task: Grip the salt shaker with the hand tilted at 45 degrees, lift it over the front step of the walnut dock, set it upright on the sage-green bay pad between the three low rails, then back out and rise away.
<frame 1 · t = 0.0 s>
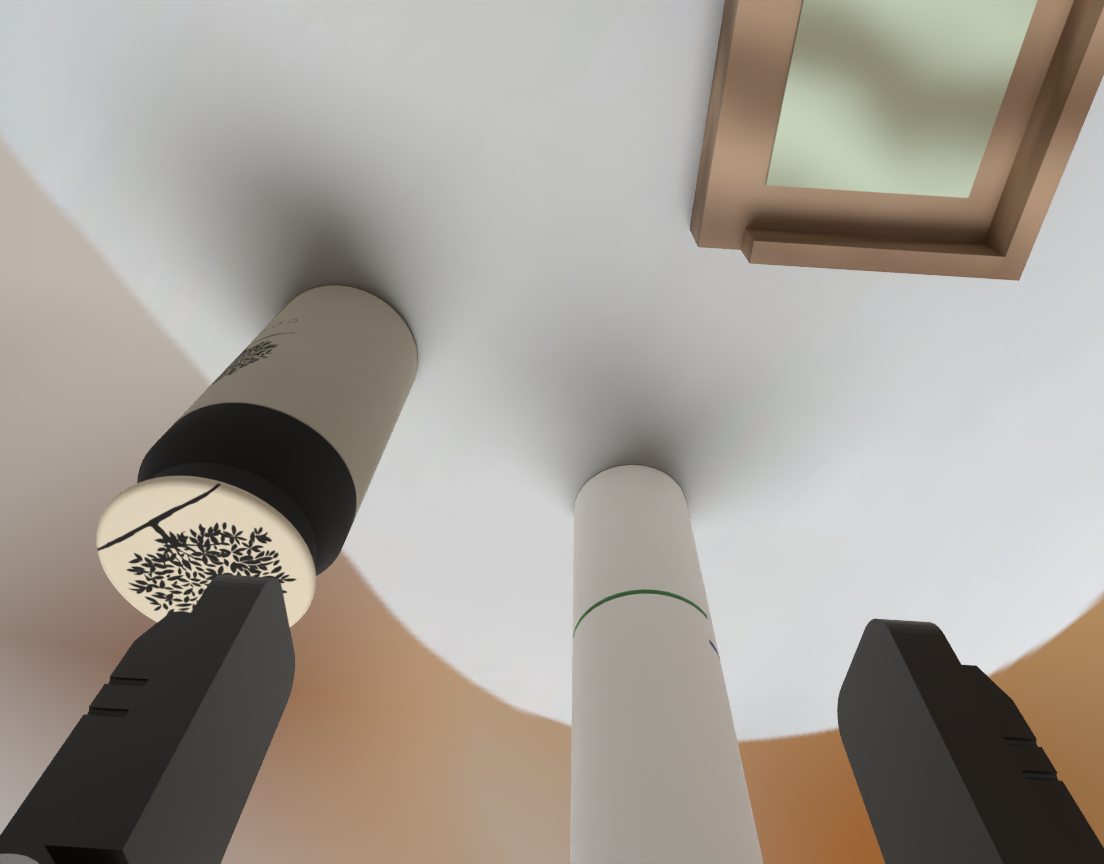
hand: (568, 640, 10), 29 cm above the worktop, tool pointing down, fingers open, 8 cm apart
travel mug: (349, 349, 40), on the worktop
cylindrical container: (629, 509, 45), on the worktop
dock: (871, 72, 32), on the worktop
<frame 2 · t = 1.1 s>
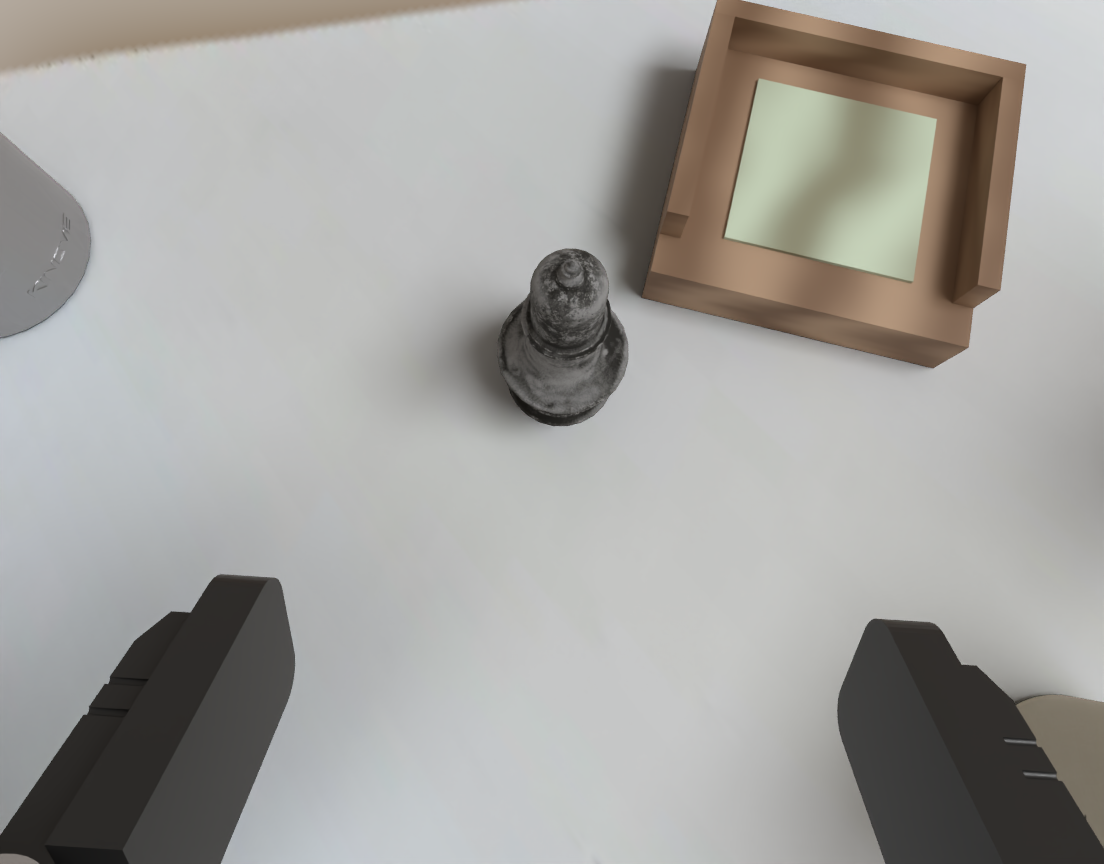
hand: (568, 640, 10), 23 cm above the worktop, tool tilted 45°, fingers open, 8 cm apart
travel mug: (1059, 788, 32), on the worktop
salt shaker: (560, 375, 35), on the worktop
dock: (808, 211, 38), on the worktop
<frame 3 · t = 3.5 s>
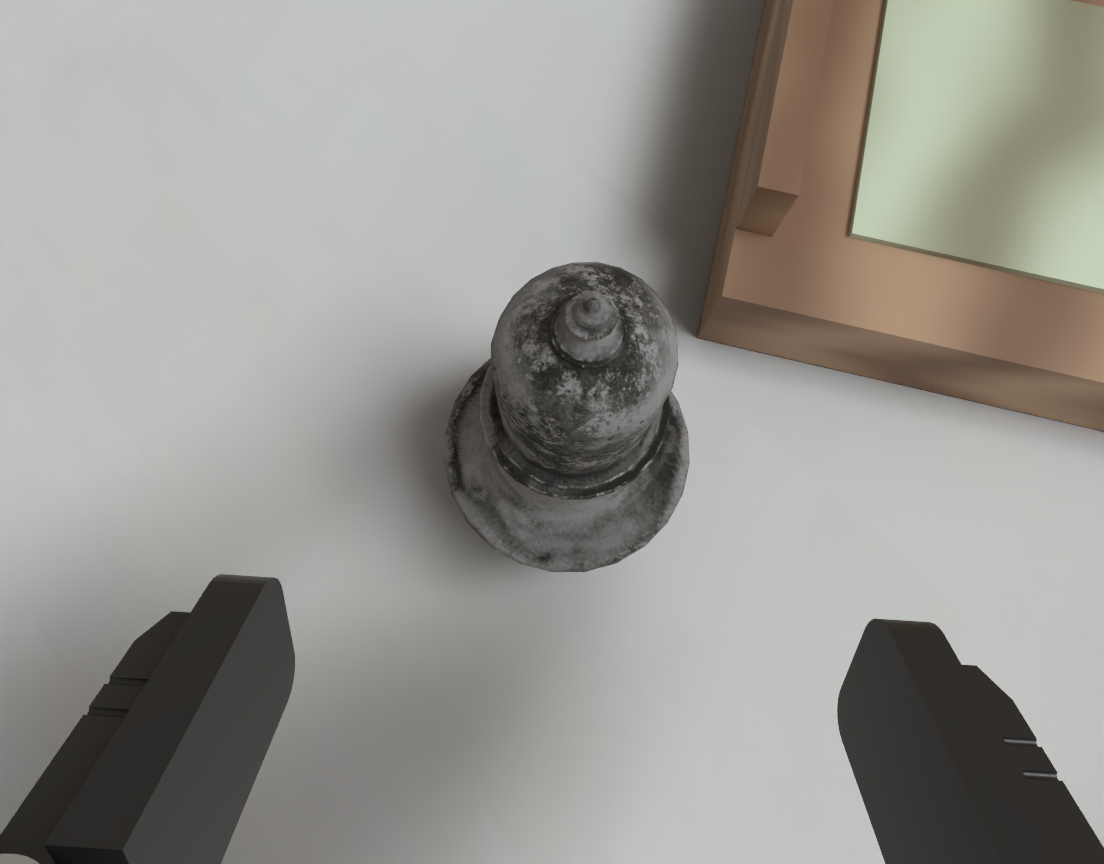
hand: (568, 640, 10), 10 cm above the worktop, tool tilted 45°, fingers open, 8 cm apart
salt shaker: (562, 474, 21), on the worktop
dock: (967, 190, 23), on the worktop
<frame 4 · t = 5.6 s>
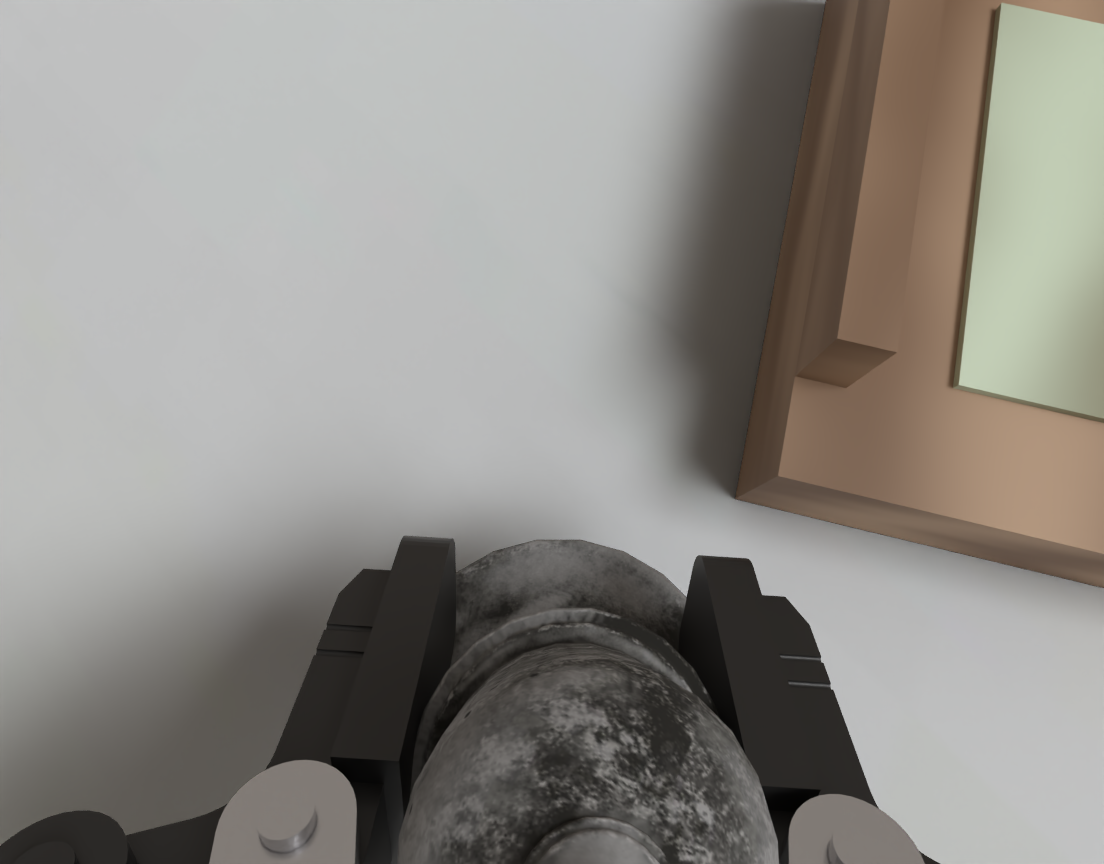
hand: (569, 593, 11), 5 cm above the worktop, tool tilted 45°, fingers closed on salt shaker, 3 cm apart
salt shaker: (553, 691, 15), on the worktop, touching gripper
dock: (1085, 295, 17), on the worktop
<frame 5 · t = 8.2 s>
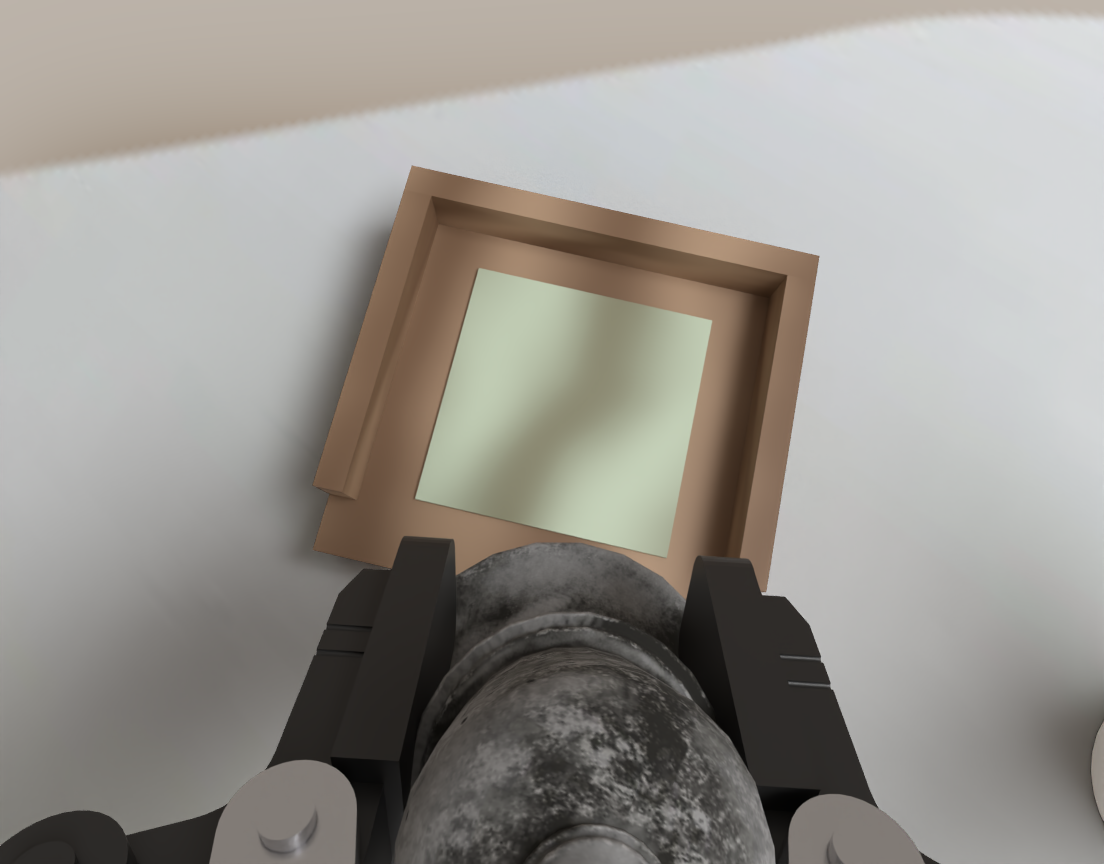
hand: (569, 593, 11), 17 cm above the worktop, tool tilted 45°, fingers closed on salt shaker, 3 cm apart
salt shaker: (553, 694, 15), point 12 cm above the worktop, touching gripper
dock: (565, 426, 29), on the worktop
when the fingers open (9 cm above the worktop, at t = 10.7 s): salt shaker drops 1 cm, resting on dock.
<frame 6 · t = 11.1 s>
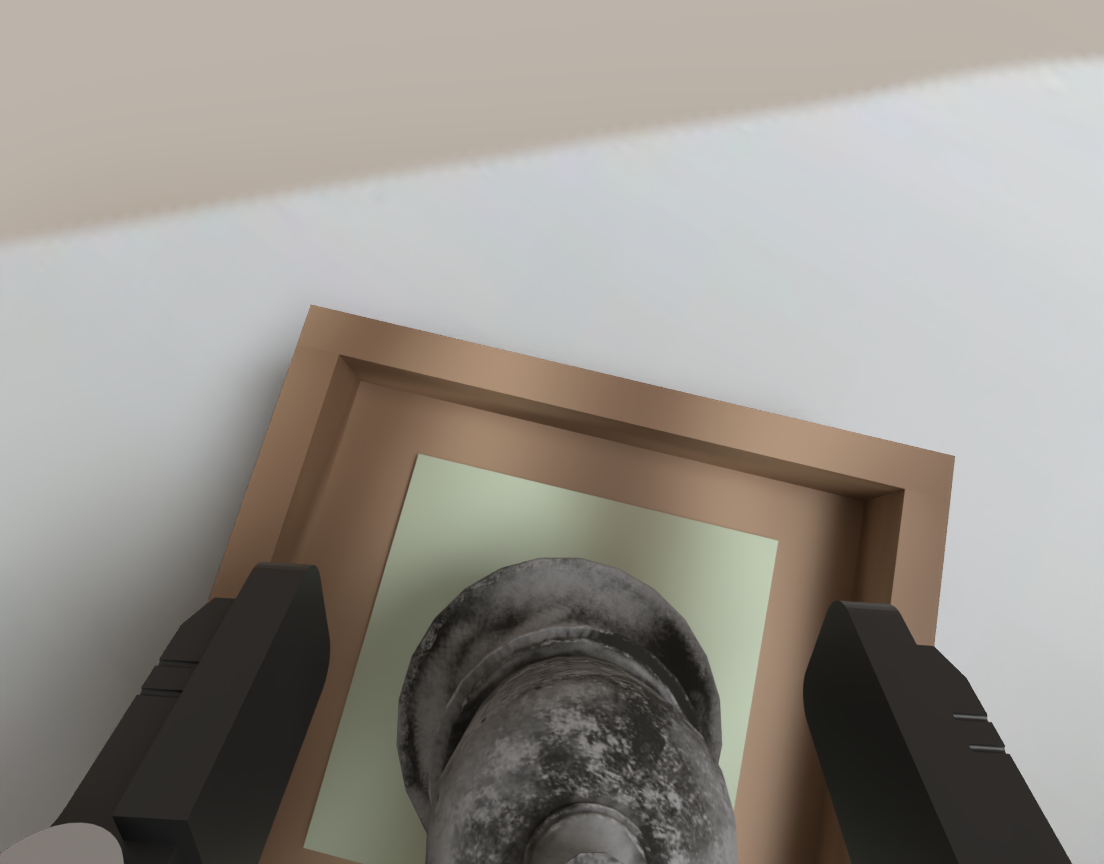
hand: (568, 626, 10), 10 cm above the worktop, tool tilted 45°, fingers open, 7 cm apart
salt shaker: (555, 695, 16), point 3 cm above the worktop, touching dock
dock: (551, 672, 19), on the worktop
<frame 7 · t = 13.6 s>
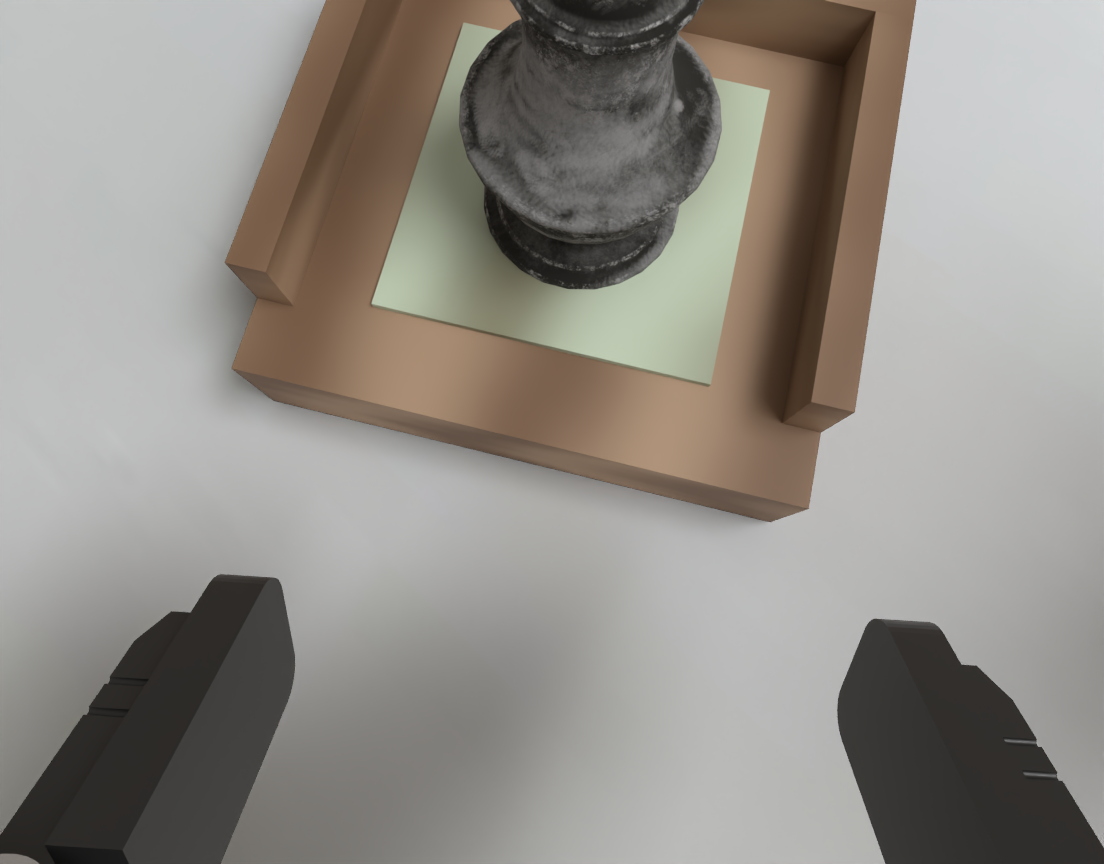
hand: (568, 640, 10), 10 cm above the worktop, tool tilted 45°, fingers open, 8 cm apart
salt shaker: (580, 203, 20), point 3 cm above the worktop, touching dock
dock: (573, 248, 22), on the worktop
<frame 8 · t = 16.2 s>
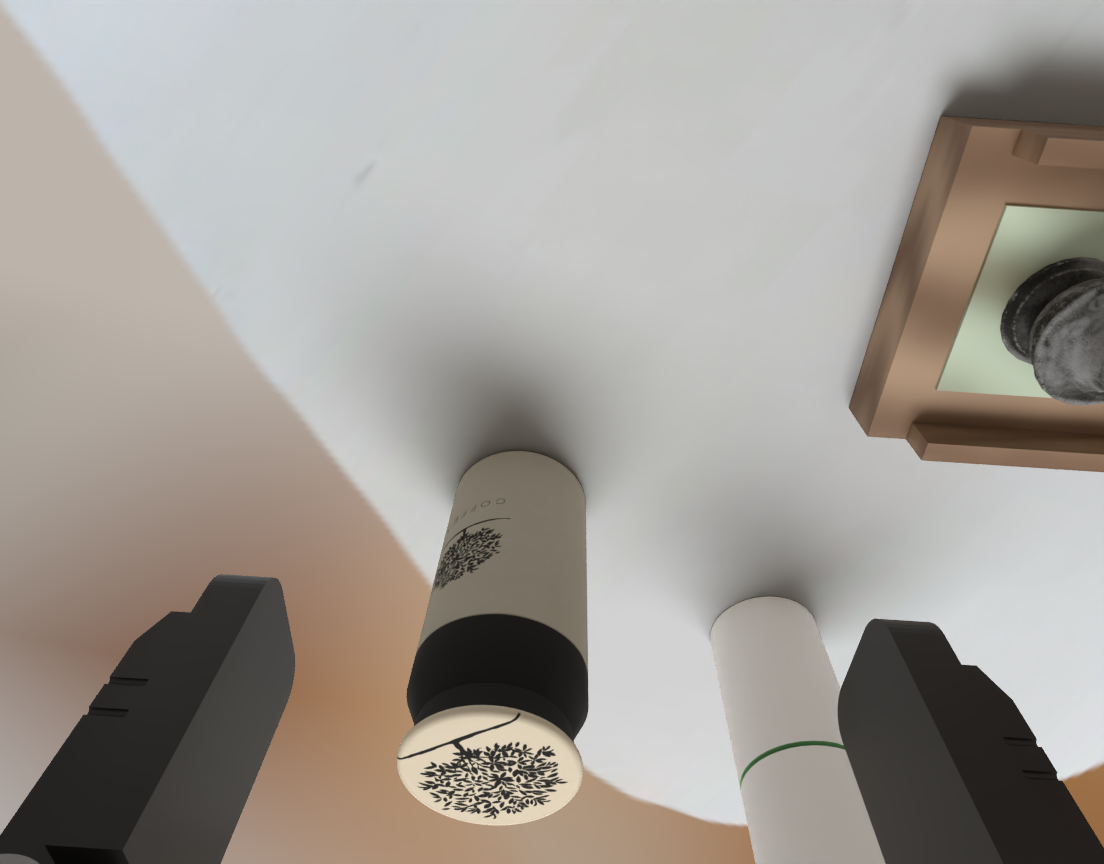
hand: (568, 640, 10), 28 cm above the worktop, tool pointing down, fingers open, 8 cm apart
travel mug: (521, 500, 44), on the worktop
salt shaker: (1058, 311, 33), point 3 cm above the worktop, touching dock
cylindrical container: (762, 632, 49), on the worktop
dock: (1029, 287, 36), on the worktop
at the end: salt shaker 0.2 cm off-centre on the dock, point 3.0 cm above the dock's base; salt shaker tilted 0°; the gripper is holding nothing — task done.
